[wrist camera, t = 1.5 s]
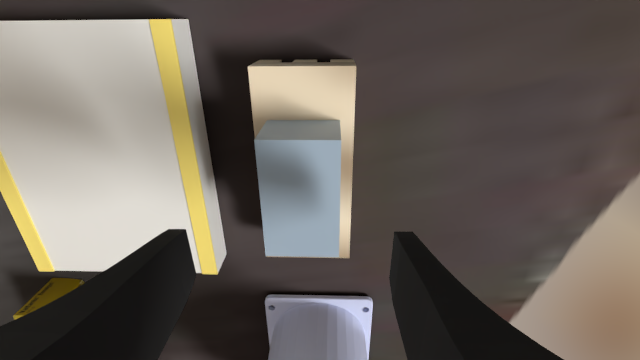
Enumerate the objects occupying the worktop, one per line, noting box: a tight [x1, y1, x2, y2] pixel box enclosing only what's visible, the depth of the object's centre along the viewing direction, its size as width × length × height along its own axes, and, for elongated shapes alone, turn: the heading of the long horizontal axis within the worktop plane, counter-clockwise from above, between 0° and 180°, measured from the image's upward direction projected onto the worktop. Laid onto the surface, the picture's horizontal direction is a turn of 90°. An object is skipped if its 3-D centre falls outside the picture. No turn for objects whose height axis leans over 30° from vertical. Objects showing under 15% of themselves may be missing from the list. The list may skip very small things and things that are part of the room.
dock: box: [0, 19, 227, 274], centre depth 20 cm, size 15×12×2 cm
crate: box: [254, 120, 341, 257], centre depth 16 cm, size 6×4×3 cm, turn 1°
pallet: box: [248, 59, 356, 258], centre depth 19 cm, size 11×5×3 cm, turn 0°
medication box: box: [13, 278, 84, 320], centre depth 26 cm, size 12×3×4 cm, turn 176°
